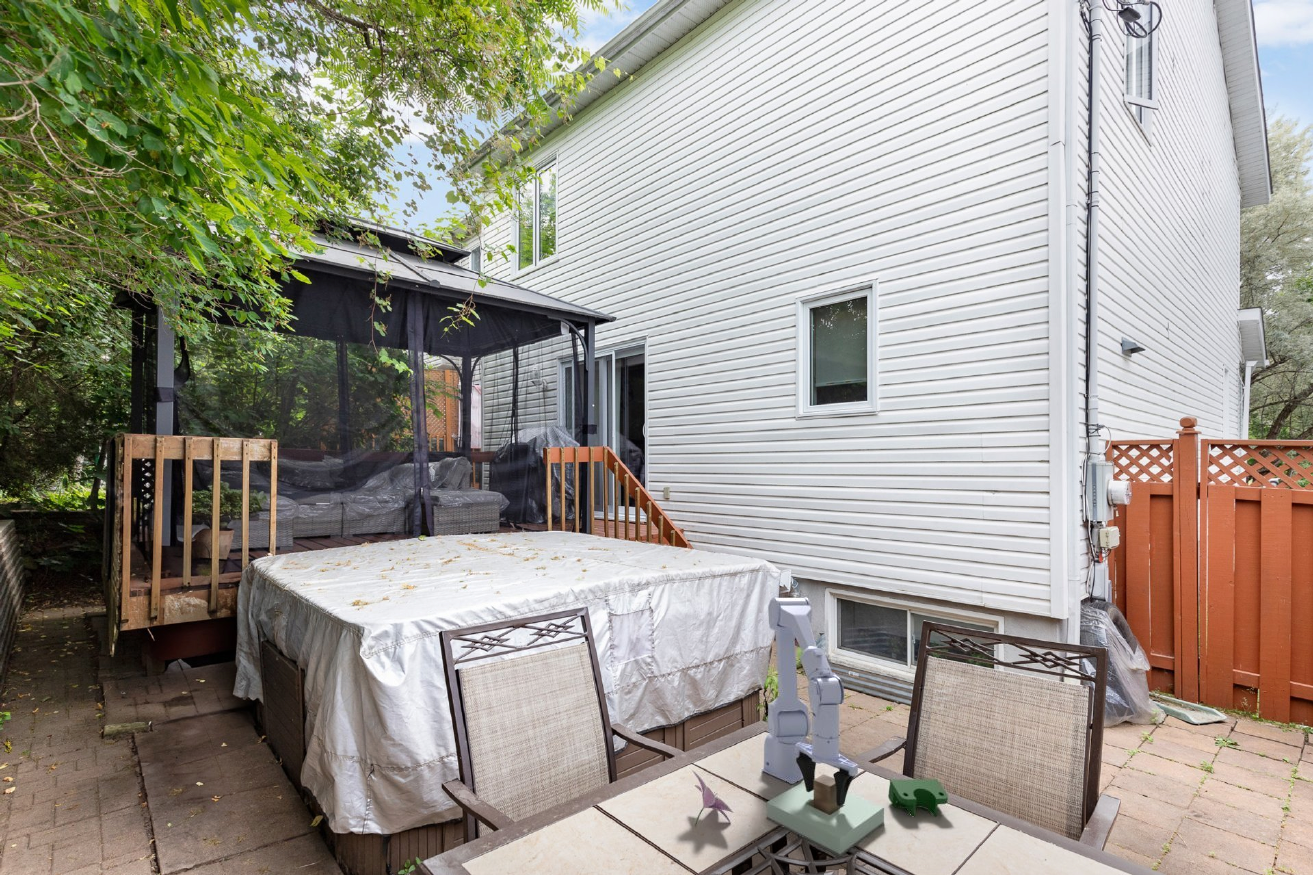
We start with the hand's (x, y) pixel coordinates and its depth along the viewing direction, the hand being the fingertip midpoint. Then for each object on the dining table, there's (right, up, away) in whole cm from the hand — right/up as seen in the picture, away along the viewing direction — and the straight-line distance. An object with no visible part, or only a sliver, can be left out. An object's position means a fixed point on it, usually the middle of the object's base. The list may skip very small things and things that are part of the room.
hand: (825, 797), depth 136 cm
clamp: (+23, -6, +5) cm, 24 cm away
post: (0, -5, 0) cm, 5 cm away
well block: (0, -5, 0) cm, 5 cm away
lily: (-25, -5, -1) cm, 26 cm away
